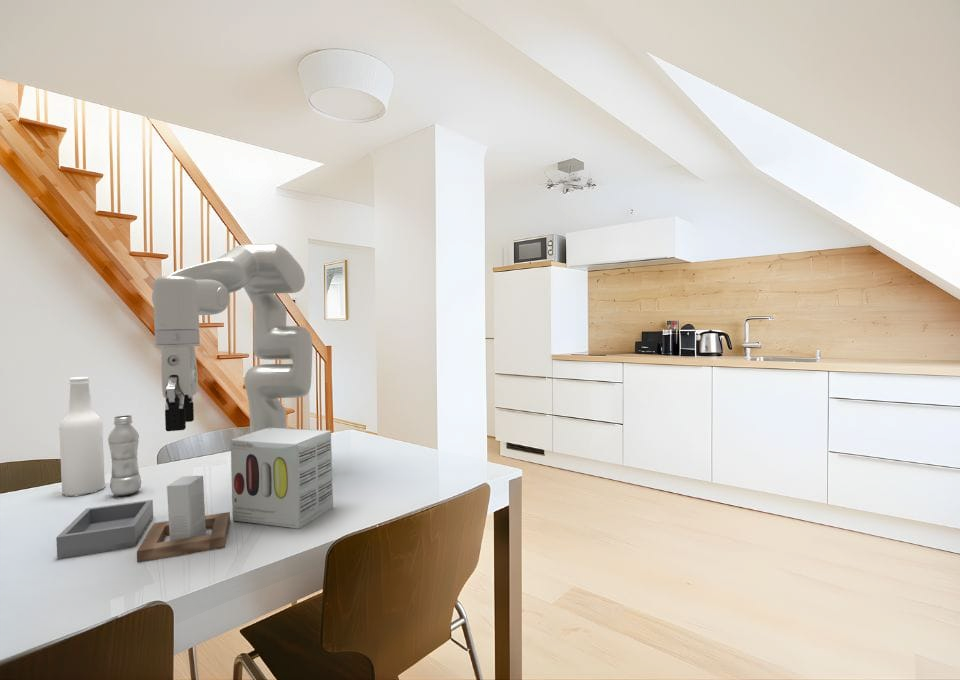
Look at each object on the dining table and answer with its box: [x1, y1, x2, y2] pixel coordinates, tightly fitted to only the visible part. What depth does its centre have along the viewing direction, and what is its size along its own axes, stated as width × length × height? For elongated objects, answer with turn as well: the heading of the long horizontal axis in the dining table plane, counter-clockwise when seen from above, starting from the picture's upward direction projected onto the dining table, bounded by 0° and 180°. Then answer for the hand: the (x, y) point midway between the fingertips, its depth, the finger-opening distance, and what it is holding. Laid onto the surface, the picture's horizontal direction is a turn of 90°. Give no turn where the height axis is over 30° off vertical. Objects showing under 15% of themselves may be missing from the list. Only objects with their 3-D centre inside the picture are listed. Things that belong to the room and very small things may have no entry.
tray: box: [56, 499, 154, 560], centre depth 100 cm, size 12×16×4 cm
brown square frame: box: [136, 511, 231, 563], centre depth 98 cm, size 14×14×2 cm
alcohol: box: [58, 376, 106, 497], centre depth 129 cm, size 9×9×30 cm
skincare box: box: [166, 475, 207, 541], centre depth 98 cm, size 6×4×12 cm
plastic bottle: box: [107, 415, 142, 496], centre depth 126 cm, size 6×7×20 cm
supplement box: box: [230, 428, 334, 530], centre depth 110 cm, size 17×13×18 cm
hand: (180, 425), depth 98 cm, fingers open, 9 cm apart
